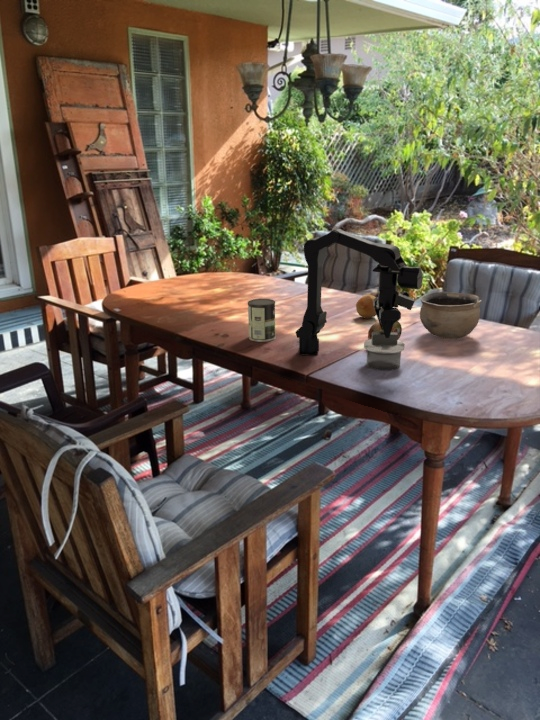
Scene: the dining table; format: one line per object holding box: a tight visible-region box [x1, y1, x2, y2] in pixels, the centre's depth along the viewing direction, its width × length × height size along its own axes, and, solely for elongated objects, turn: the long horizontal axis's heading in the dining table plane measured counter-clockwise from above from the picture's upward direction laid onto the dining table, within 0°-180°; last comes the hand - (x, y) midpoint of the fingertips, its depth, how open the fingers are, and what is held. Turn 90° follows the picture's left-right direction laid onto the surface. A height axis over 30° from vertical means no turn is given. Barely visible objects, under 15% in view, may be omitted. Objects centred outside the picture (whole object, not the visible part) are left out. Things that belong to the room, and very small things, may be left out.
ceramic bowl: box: [419, 291, 482, 340], centre depth 226 cm, size 22×22×15 cm
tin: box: [367, 321, 403, 340], centre depth 219 cm, size 15×3×8 cm, turn 125°
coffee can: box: [247, 298, 276, 343], centre depth 226 cm, size 10×10×14 cm
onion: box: [355, 293, 377, 320], centre depth 252 cm, size 10×10×10 cm
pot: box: [366, 350, 402, 371], centre depth 201 cm, size 11×16×6 cm
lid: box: [363, 332, 405, 354], centre depth 197 cm, size 13×13×5 cm
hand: (385, 333), depth 196 cm, fingers open, 9 cm apart
